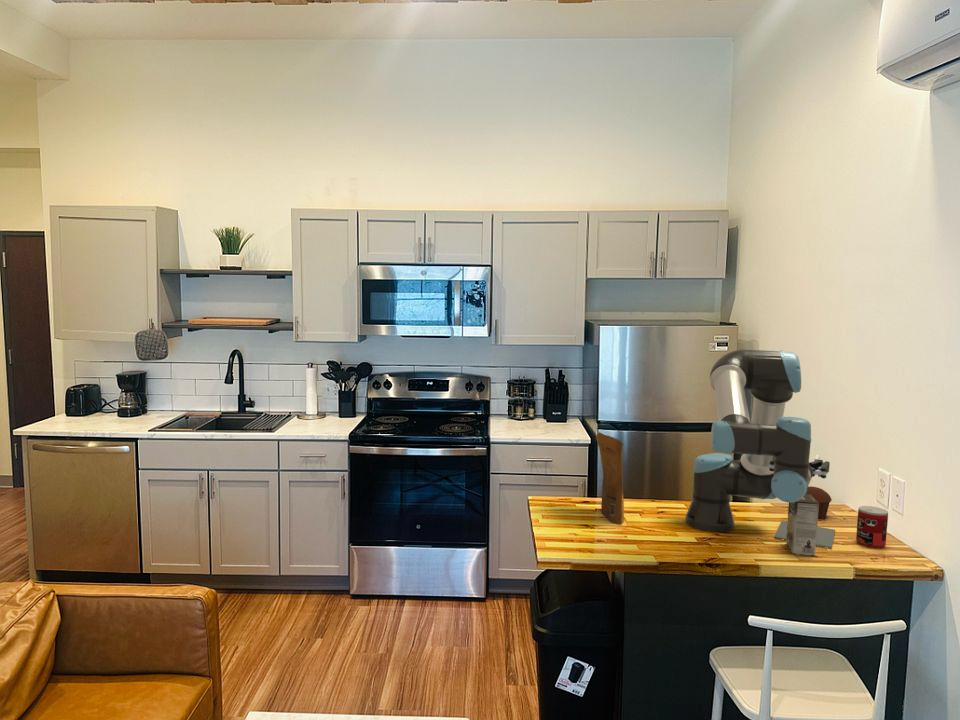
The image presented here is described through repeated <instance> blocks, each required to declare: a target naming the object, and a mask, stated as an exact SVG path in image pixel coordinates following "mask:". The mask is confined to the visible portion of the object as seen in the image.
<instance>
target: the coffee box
mask: <svg viewBox="0 0 960 720" xmlns="http://www.w3.org/2000/svg"><path fill="white" fill-rule="evenodd" d="M787 509H788V510H787V521H788V523H787V537H786V543H787V544H786V543H785V544H786V545H787V547H788V546H789V547H788V548H789V550H790V549H791V550H790V551H791V553H792V552H793V553H796V554H795V555H800V554H804V555H803V556H811V555H815V556H816V548H817V546H816V535H817V527H818V521H819V520H818V510H819V503H818V501H817V500H816V499H815V498H814V497H813V496H812V495H811V494H805V495H804V496H803V497H802V498H801V499H800V500H799V501H796V502H792V503H789V502H788V508H787ZM793 553H792V554H793Z"/></svg>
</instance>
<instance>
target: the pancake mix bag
mask: <svg viewBox="0 0 960 720" xmlns="http://www.w3.org/2000/svg"><path fill="white" fill-rule="evenodd" d="M595 436H596V437H595V439H596V442H597V445H598V449H599V454H600V462H601V469H602V485H601V487H602V488H601V505H600V507H601V510H600V514H602V515H603V516H604V517H605V519H607V520H608V521H609V522H610V523H611V524H616V525H623V524H622V523H624V520H625V507H624V505H625V504H624V479H623V475H624V474H623V473H624V469H623V468H624V466H623V456H624V455H623V451H624V450H623V449H624V442H622V441H621V440H620V439H618V438H616V437H613V436H610V435H606V434H604V433H601V432H600V431H598V432H597V433H596V435H595Z"/></svg>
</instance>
